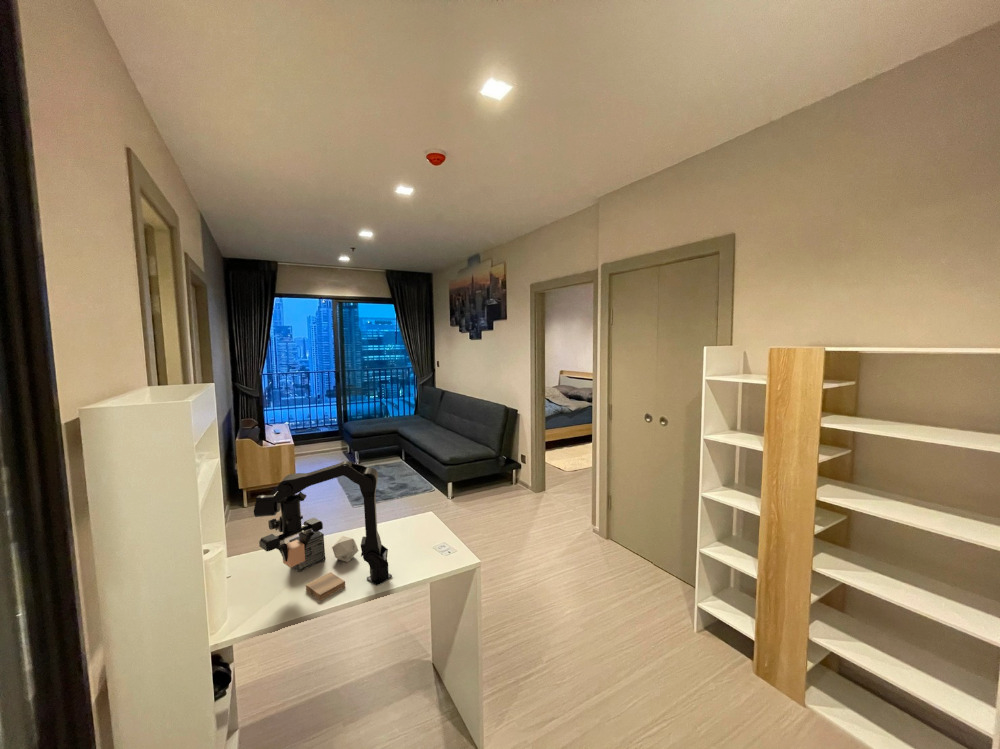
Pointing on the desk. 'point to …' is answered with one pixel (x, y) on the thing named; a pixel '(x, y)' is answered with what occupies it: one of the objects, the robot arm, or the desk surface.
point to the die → (345, 548)
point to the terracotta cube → (295, 553)
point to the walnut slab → (325, 586)
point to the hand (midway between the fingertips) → (293, 557)
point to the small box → (312, 551)
